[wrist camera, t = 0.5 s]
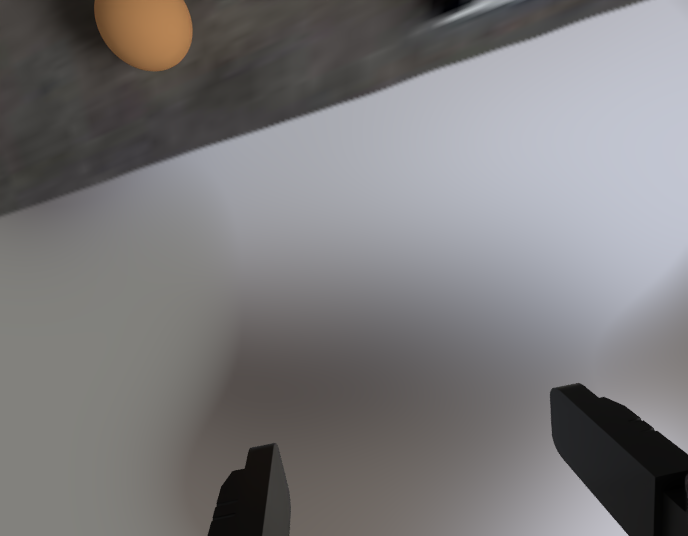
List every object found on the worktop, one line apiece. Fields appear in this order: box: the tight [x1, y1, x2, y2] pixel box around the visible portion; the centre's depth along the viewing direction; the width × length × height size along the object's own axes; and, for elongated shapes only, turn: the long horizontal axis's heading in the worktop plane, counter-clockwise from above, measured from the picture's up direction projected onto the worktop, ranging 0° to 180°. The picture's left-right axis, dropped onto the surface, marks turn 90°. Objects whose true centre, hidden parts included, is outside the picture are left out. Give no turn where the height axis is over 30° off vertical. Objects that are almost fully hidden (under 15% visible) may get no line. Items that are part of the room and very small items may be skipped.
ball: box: [94, 0, 192, 71], centre depth 26 cm, size 6×6×6 cm
